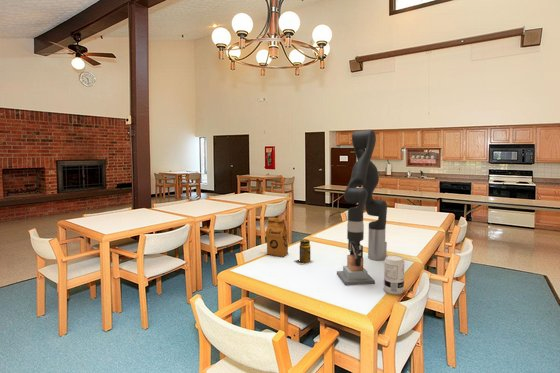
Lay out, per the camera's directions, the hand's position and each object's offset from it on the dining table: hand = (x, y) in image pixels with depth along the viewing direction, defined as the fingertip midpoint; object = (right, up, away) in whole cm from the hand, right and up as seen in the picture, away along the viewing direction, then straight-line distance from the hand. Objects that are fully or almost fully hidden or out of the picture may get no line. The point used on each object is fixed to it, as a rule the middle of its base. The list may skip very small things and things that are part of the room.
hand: (355, 262), depth 161 cm
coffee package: (-37, -4, +40) cm, 55 cm away
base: (0, -8, +1) cm, 8 cm away
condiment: (-23, -6, +26) cm, 35 cm away
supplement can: (+14, -9, -14) cm, 22 cm away
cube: (0, -3, 0) cm, 3 cm away
